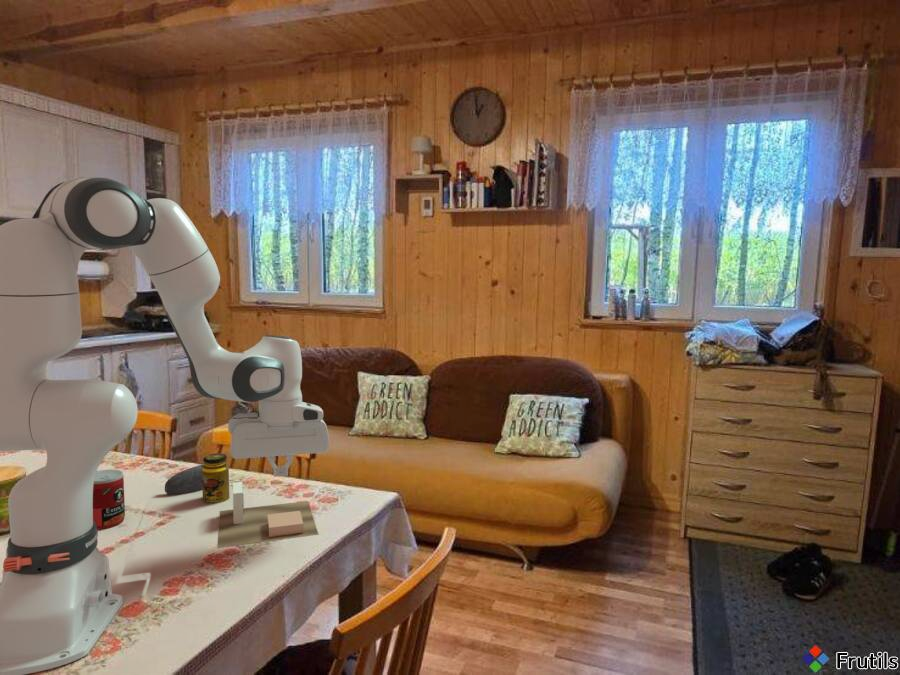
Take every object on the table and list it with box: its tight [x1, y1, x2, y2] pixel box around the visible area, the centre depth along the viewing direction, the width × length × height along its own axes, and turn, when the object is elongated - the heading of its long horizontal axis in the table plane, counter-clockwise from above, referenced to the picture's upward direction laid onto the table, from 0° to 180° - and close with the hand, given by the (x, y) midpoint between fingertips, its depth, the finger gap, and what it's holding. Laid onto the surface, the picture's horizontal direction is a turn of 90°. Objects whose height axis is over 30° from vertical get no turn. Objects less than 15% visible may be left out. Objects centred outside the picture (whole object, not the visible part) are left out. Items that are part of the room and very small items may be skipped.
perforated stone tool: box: [164, 464, 204, 496], centre depth 147 cm, size 15×5×7 cm, turn 131°
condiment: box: [201, 452, 230, 505], centre depth 141 cm, size 7×8×12 cm
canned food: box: [93, 469, 126, 530], centre depth 129 cm, size 8×8×11 cm
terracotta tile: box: [267, 511, 303, 537], centre depth 125 cm, size 7×2×7 cm
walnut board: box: [217, 500, 319, 549], centre depth 129 cm, size 19×20×1 cm
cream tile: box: [232, 481, 245, 524], centre depth 130 cm, size 7×2×7 cm, turn 20°
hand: (280, 475), depth 123 cm, fingers closed
